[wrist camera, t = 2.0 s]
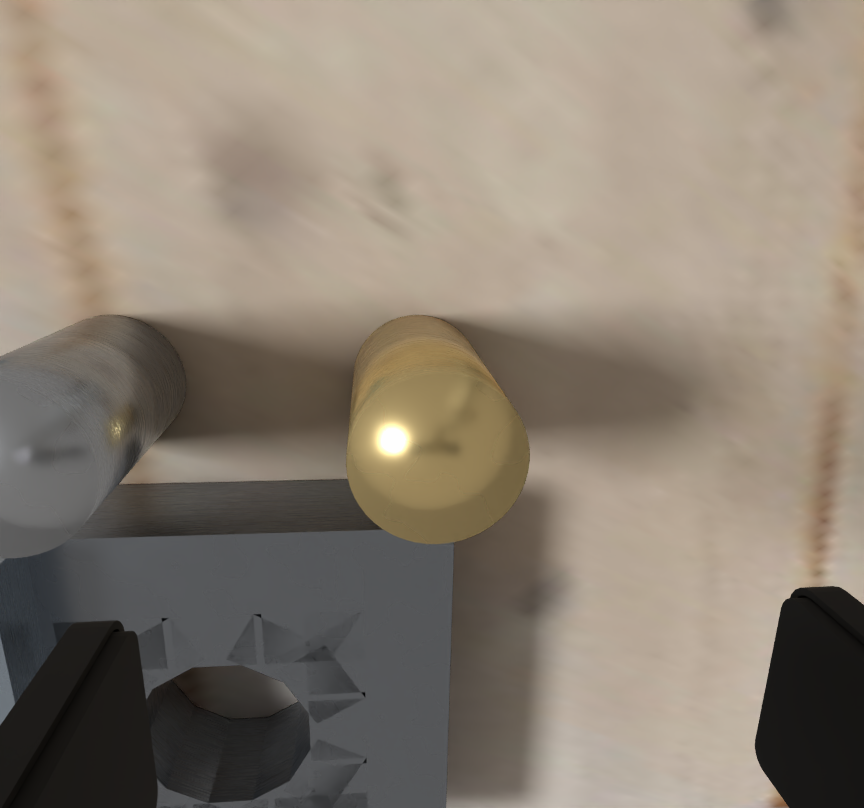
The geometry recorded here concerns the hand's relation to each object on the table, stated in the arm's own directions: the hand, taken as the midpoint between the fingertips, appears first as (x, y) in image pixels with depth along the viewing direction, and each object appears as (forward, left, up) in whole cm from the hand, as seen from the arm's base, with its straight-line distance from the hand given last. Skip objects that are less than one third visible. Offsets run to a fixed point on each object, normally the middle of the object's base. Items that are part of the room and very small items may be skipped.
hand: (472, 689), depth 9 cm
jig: (+7, +12, -15) cm, 20 cm away
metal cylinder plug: (+10, 0, -15) cm, 18 cm away
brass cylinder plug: (0, 0, -15) cm, 15 cm away
